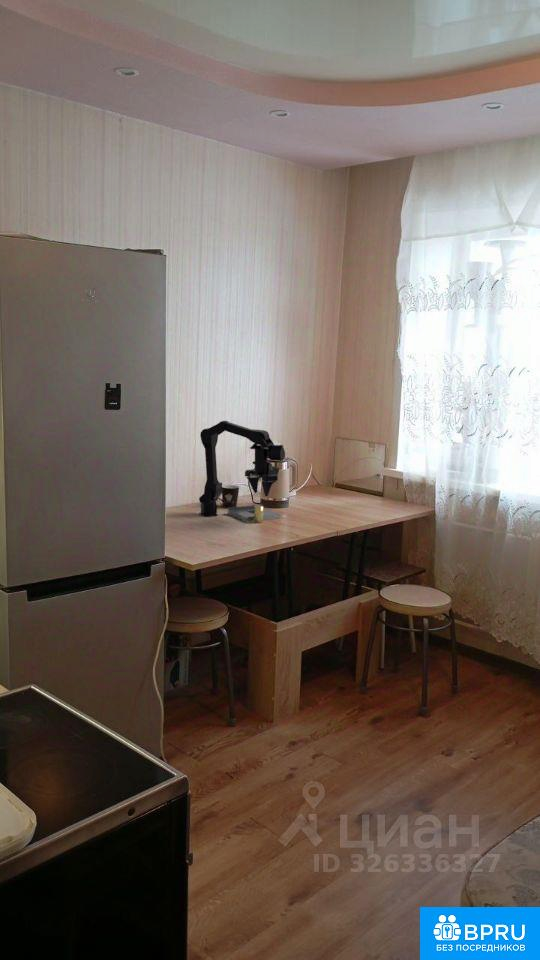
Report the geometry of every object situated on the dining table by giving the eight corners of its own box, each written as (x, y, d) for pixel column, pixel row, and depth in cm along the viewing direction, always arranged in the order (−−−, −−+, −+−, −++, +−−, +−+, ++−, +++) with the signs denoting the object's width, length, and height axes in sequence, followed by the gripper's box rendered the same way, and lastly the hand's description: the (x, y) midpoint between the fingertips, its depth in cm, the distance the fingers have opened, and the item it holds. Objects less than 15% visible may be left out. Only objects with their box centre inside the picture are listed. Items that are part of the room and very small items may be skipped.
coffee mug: (242, 507, 376) (242, 486, 374) (231, 509, 368) (232, 489, 367) (222, 503, 382) (223, 483, 380) (212, 506, 374) (212, 485, 373)
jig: (245, 521, 345) (245, 514, 344) (227, 514, 358) (228, 507, 358) (279, 518, 355) (279, 511, 354) (261, 511, 368) (261, 504, 367)
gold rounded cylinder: (257, 523, 342) (257, 507, 341) (252, 521, 346) (252, 506, 345) (264, 522, 345) (265, 507, 343) (260, 520, 348) (260, 505, 347)
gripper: (288, 460, 338) (287, 496, 340) (265, 456, 353) (265, 489, 356) (266, 462, 332) (266, 498, 334) (244, 457, 347) (244, 492, 350)
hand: (261, 494), depth 344 cm, fingers open, 9 cm apart
